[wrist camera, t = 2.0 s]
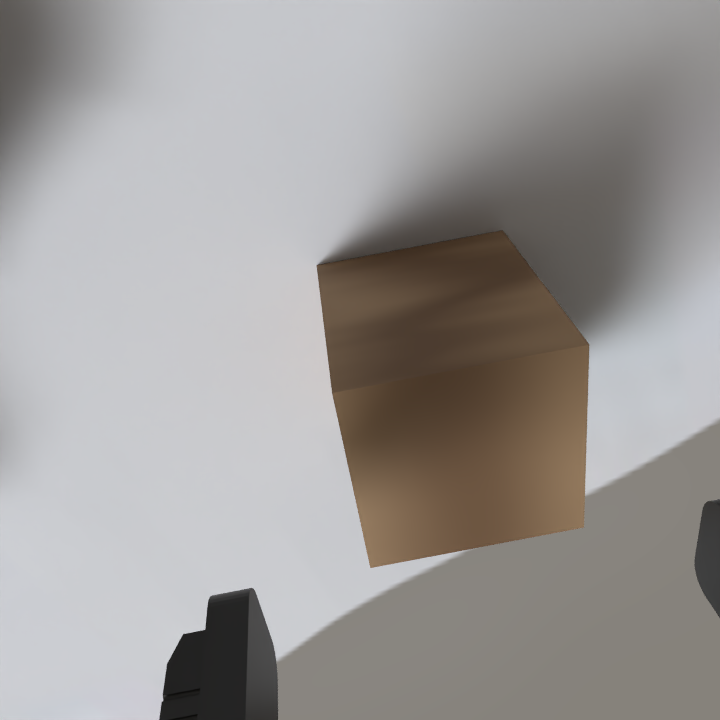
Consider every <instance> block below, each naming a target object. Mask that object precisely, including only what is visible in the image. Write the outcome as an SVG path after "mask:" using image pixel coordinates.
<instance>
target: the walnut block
mask: <svg viewBox="0 0 720 720" xmlns="http://www.w3.org/2000/svg"><path fill="white" fill-rule="evenodd" d="M317 272H318V280H319V288H320V297H321V305H322V313H323V321H324V329H325V338H326V346H327V354H328V362H329V370H330V379H331V387H332V394H333V399H334V403H335V408H336V412H337V417H338V422H339V426H340V431H341V435H342V440H343V444H344V449H345V454H346V458H347V463H348V467H349V472H350V476H351V481H352V486H353V490H354V495H355V499H356V504H357V508H358V513H359V518H360V522H361V527H362V531H363V536H364V540H365V545H366V550H367V554H368V559H369V563H370V568H373V567H378V566H383V565H389V564H394V563H399V562H404V561H410V560H415V559H420V558H425V557H431V556H436V555H441V554H446V553H452V552H457V551H462V550H467V549H473V548H478V547H483V546H488V545H494V544H498V543H504V542H509V541H514V540H520V539H525V538H530V537H535V536H541V535H546V534H551V533H557V532H562V531H567V530H573V529H578V528H583V527H584V505H585V471H586V437H587V403H588V369H589V344H588V342H587V341H586V340H585V338H584V337H583V336H582V334H581V333H580V332H579V330H578V329H577V328H576V326H575V325H574V324H573V323H572V321H571V320H570V319H569V317H568V316H567V315H566V313H565V312H564V311H563V309H562V308H561V307H560V305H559V304H558V303H557V301H556V300H555V299H554V297H553V296H552V295H551V294H550V292H549V291H548V290H547V288H546V287H545V286H544V284H543V283H542V282H541V280H540V279H539V278H538V276H537V275H536V274H535V272H534V271H533V270H532V268H531V267H530V266H529V265H528V263H527V262H526V261H525V259H524V258H523V257H522V255H521V254H520V253H519V251H518V250H517V249H516V247H515V246H514V245H513V243H512V242H511V241H510V240H509V238H508V237H507V236H506V234H505V233H504V232H503V230H502V231H496V232H491V233H486V234H480V235H475V236H470V237H464V238H459V239H454V240H448V241H443V242H438V243H432V244H427V245H422V246H416V247H411V248H406V249H400V250H395V251H390V252H385V253H379V254H374V255H369V256H363V257H358V258H353V259H347V260H342V261H337V262H331V263H326V264H321V265H317Z"/></svg>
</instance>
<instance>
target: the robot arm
mask: <svg viewBox="0 0 720 720" xmlns="http://www.w3.org/2000/svg"><path fill="white" fill-rule="evenodd" d="M695 570H696V575H697V579H698V582H699V584H700V587H701V589H702V591H703V593H704V594H705V596H706V598H707V599H708V601H709V602H710V604H711V605H712V607H713V608H714V610H715V611H716V613H717V614H718V616H719V617H720V499H718V500H714V501H708V502H706V503H705V505H704V507H703V511H702V517H701V523H700V530H699V536H698V542H697V548H696V555H695ZM277 681H278V680H277V665H276V657H275V651H274V646H273V642H272V639H271V636H270V633H269V630H268V627H267V624H266V621H265V618H264V616H263V613H262V610H261V607H260V604H259V601H258V598H257V595H256V592H255V590H254V589H253V588H249V589H244V590H239V591H234V592H229V593H223V594H218V595H213V596H211V597H210V598H209V601H208V607H207V618H206V629H205V630H203V631H198V632H193V633H188V634H183V636H182V638H181V639H180V641H179V643H178V645H177V647H176V649H175V651H174V652H173V654H172V656H171V658H170V660H169V662H168V664H167V669H166V676H165V683H164V690H163V702H162V705H161V712H160V719H159V720H278V683H277Z"/></svg>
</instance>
